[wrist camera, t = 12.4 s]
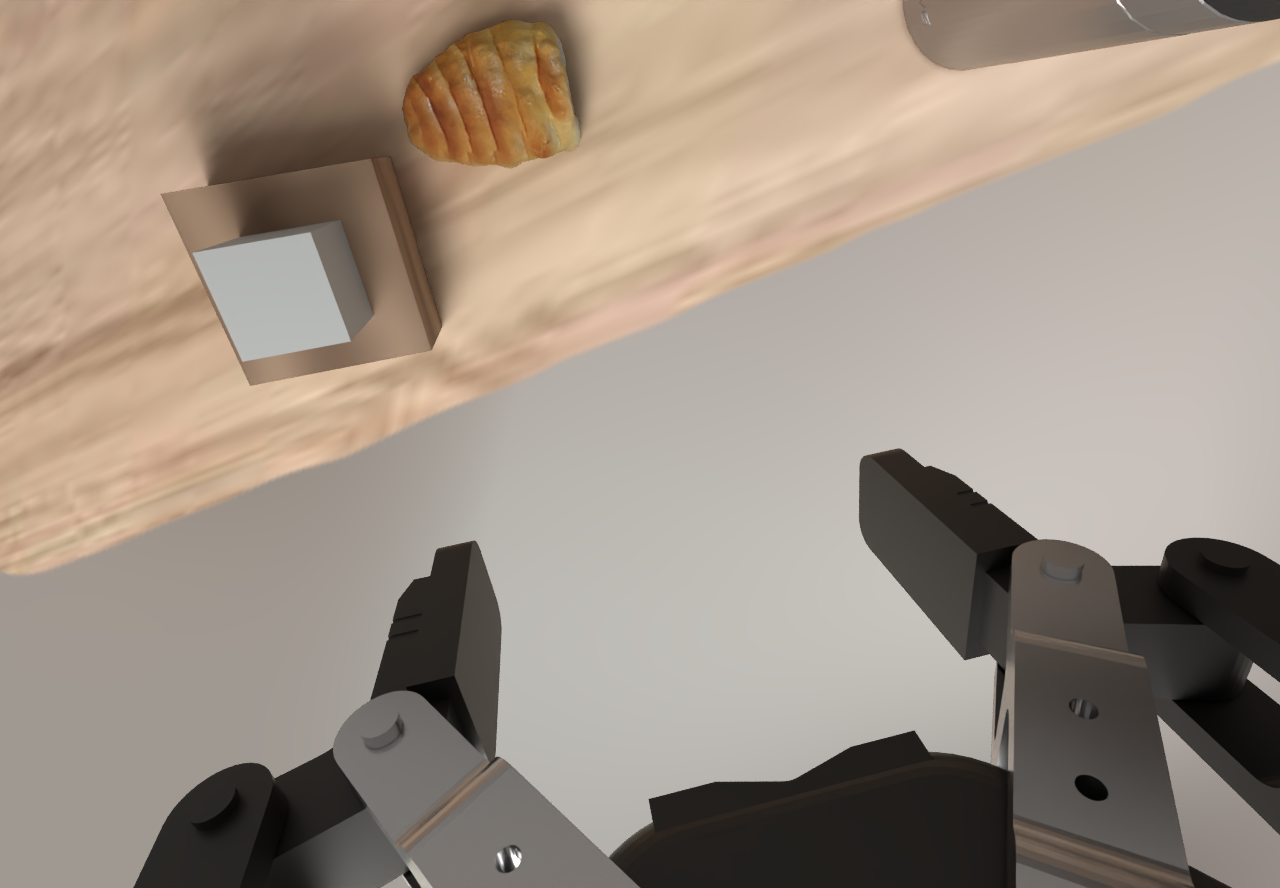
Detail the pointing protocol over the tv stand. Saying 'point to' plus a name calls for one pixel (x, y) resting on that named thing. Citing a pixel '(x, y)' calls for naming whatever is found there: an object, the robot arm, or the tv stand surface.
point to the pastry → (494, 98)
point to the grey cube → (287, 289)
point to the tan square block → (374, 238)
